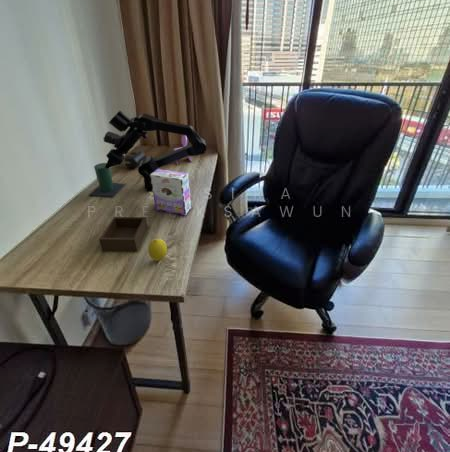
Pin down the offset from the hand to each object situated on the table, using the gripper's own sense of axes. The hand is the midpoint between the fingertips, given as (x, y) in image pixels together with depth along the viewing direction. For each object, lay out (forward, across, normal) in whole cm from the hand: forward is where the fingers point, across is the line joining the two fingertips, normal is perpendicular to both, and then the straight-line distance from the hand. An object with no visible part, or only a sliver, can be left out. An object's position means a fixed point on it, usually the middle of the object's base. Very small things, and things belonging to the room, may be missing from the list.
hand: (109, 163), depth 110 cm
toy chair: (-11, -28, +31) cm, 43 cm away
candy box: (-10, +18, +30) cm, 36 cm away
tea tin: (+12, 0, +7) cm, 13 cm away
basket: (0, +35, +19) cm, 39 cm away
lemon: (-9, +45, +28) cm, 54 cm away
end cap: (+7, -26, +13) cm, 29 cm away
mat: (+12, 0, +7) cm, 14 cm away
